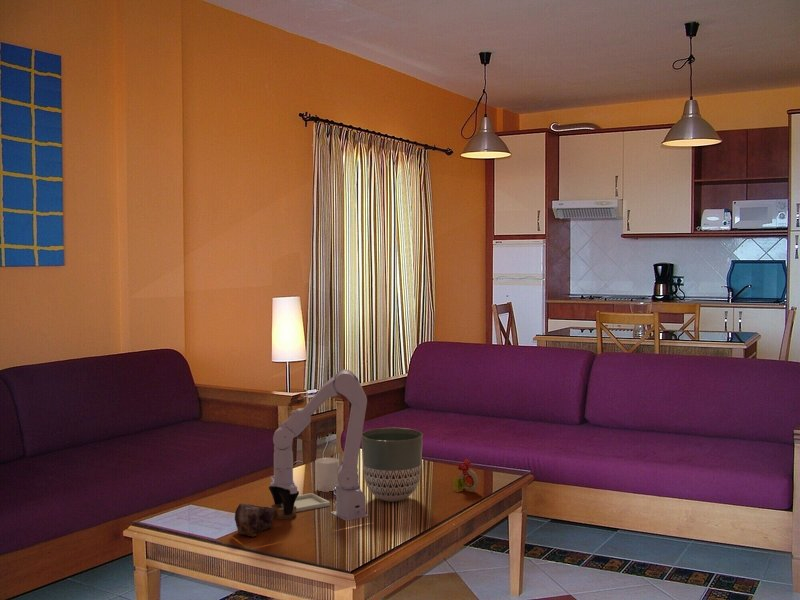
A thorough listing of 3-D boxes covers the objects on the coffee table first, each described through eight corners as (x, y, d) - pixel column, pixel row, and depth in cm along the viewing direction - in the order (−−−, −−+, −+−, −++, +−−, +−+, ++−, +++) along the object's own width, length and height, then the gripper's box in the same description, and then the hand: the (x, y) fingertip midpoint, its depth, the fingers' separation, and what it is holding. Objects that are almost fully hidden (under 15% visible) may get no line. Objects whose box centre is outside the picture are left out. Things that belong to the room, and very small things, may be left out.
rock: (276, 535, 241) (251, 527, 246) (279, 505, 241) (254, 498, 247) (247, 540, 231) (222, 532, 237) (251, 509, 232) (225, 502, 237)
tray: (330, 506, 263) (330, 501, 263) (295, 513, 257) (295, 508, 257) (312, 497, 273) (312, 493, 273) (278, 503, 267) (278, 499, 267)
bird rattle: (477, 496, 282) (457, 481, 286) (489, 468, 278) (468, 454, 283) (467, 500, 277) (447, 485, 282) (479, 472, 273) (457, 457, 278)
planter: (351, 495, 275) (351, 431, 274) (405, 487, 284) (404, 425, 283) (378, 512, 258) (377, 443, 256) (434, 503, 267) (433, 436, 265)
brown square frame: (296, 516, 253) (296, 506, 252) (275, 520, 249) (275, 510, 249) (288, 511, 257) (288, 501, 257) (267, 515, 254) (267, 505, 253)
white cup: (310, 491, 281) (310, 461, 280) (323, 485, 288) (323, 456, 287) (330, 494, 277) (330, 464, 277) (343, 488, 284) (343, 459, 284)
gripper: (261, 464, 256) (261, 507, 257) (281, 474, 244) (282, 520, 245) (282, 461, 260) (282, 503, 261) (303, 471, 248) (303, 515, 249)
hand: (283, 511), depth 253 cm, fingers closed on brown square frame, 6 cm apart
